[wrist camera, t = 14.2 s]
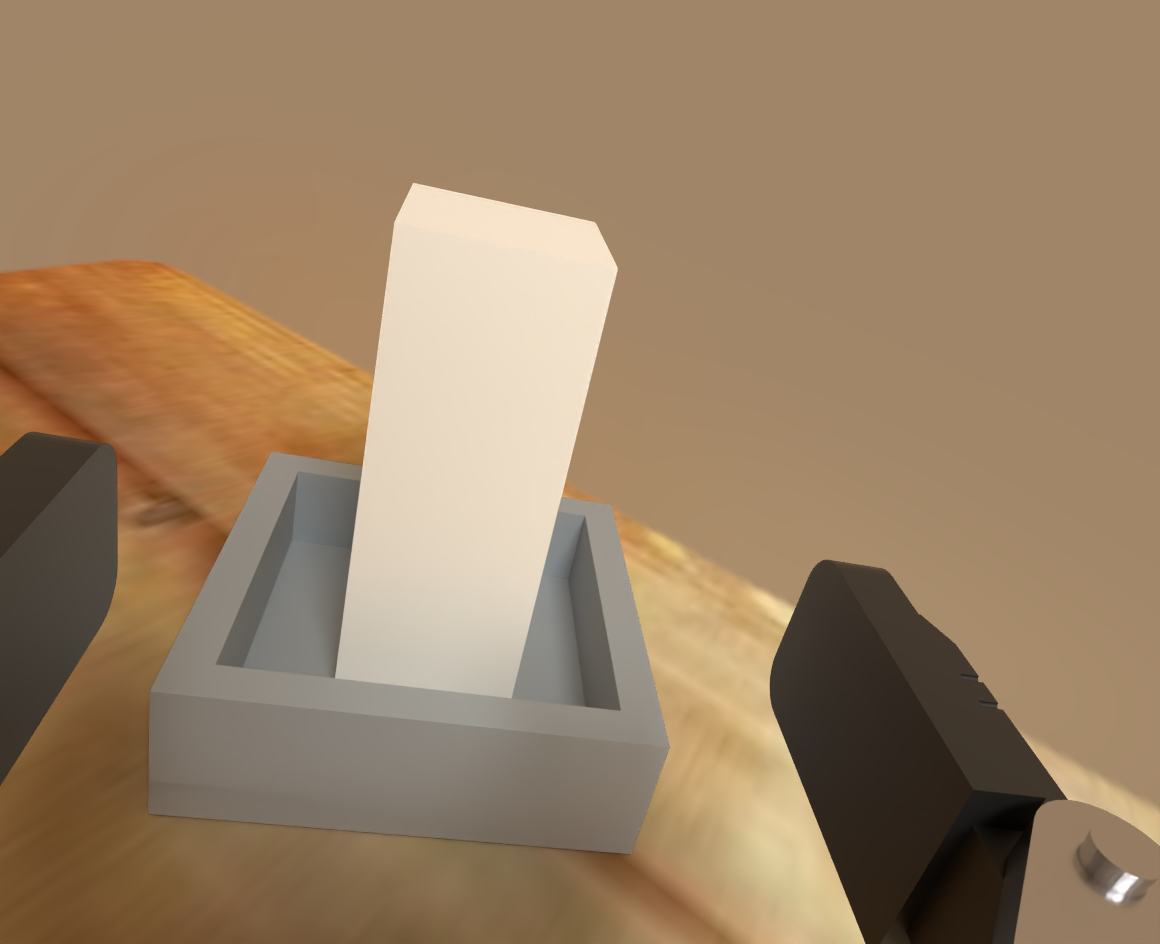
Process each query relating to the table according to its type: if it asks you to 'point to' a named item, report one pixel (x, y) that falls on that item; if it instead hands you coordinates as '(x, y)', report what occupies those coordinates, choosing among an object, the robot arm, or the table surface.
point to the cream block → (469, 437)
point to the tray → (402, 694)
